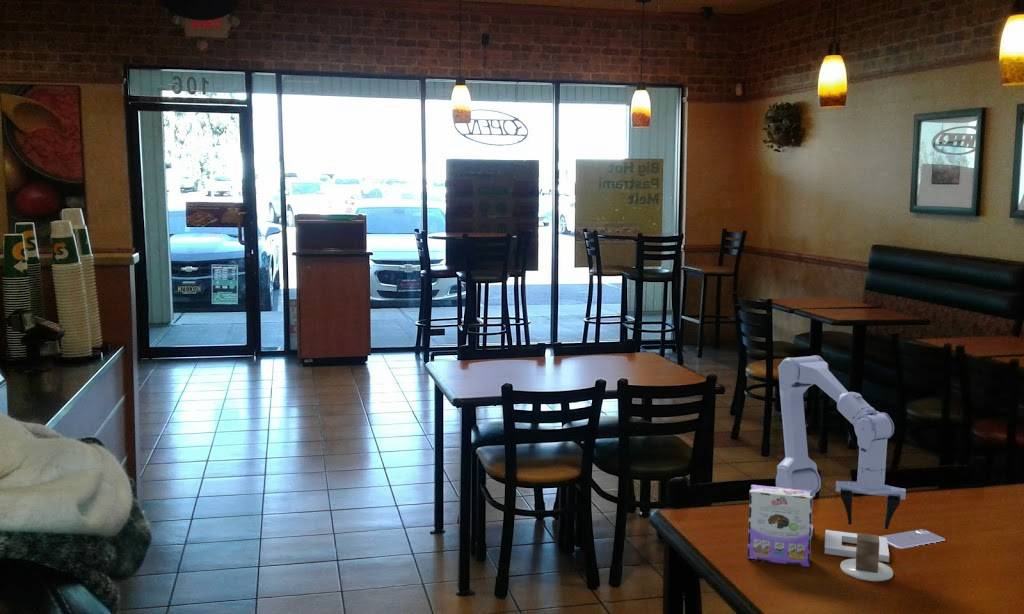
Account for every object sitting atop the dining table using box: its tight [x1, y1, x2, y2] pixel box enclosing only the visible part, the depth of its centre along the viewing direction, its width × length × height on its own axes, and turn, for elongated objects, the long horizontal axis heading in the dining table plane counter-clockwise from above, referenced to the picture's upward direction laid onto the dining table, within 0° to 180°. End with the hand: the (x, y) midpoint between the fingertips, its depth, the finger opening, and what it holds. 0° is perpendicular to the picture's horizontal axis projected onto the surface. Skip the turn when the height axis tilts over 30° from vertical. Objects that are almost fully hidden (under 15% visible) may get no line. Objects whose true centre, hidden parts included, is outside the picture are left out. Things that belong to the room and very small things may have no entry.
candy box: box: [746, 484, 813, 568], centre depth 209 cm, size 14×6×16 cm, turn 71°
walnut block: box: [855, 532, 880, 573], centre depth 203 cm, size 4×4×7 cm
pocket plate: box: [824, 529, 890, 563], centre depth 216 cm, size 14×12×2 cm
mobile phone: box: [880, 528, 946, 550], centre depth 222 cm, size 8×1×15 cm
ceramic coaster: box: [839, 558, 894, 582], centre depth 203 cm, size 11×11×1 cm
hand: (867, 525), depth 205 cm, fingers open, 7 cm apart
